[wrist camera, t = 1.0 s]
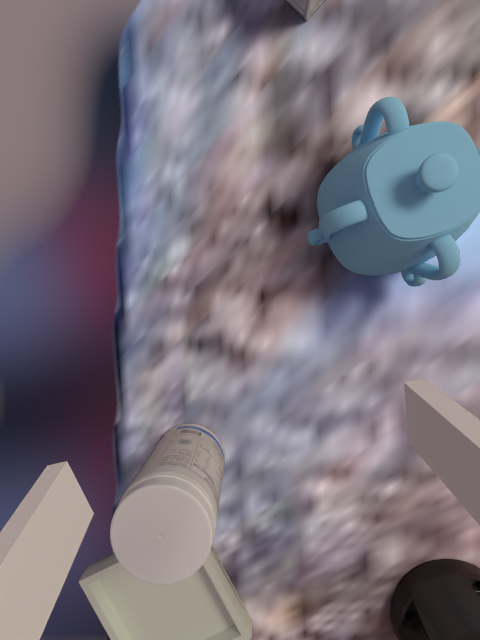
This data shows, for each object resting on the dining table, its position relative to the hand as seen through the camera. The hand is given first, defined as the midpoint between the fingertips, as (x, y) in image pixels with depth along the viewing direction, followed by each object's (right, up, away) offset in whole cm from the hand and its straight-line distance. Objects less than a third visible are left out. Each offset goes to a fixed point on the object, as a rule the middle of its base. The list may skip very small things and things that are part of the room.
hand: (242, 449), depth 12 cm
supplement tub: (-7, -13, +30) cm, 33 cm away
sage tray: (-10, -33, +31) cm, 46 cm away
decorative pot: (+17, +18, +28) cm, 37 cm away
